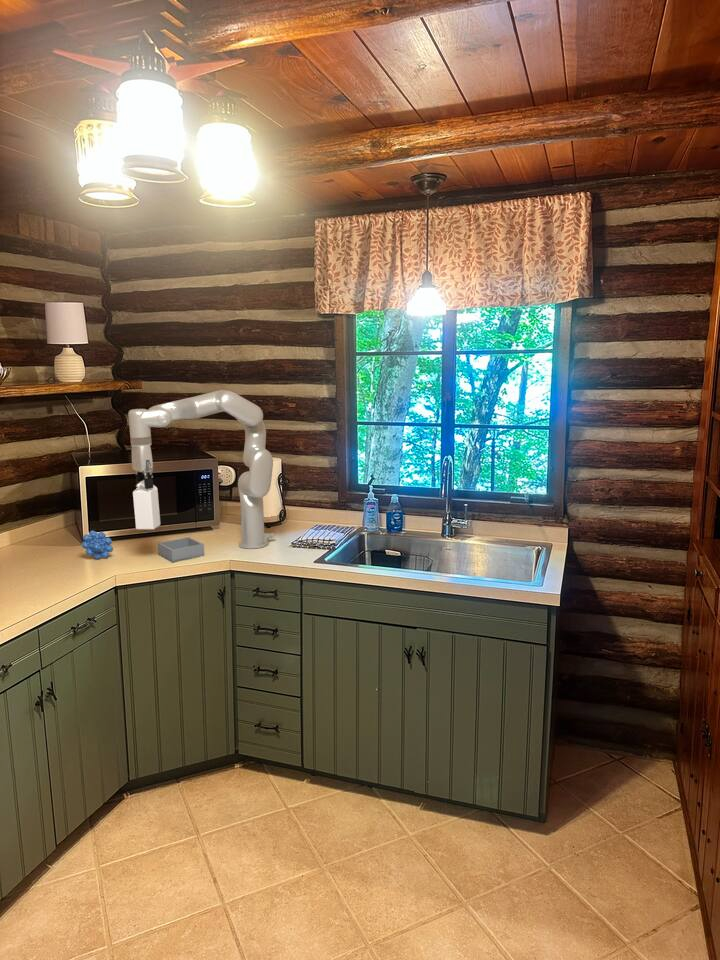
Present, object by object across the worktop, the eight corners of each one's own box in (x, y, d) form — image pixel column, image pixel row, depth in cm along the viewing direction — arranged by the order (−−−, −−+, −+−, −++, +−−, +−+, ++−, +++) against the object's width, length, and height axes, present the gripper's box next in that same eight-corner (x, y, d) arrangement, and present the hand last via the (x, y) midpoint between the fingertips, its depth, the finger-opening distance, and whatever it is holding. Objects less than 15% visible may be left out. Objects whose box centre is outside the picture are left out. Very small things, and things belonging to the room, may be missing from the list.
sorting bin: (189, 548, 290) (188, 537, 289) (204, 555, 279) (203, 544, 278) (158, 554, 281) (157, 543, 280) (172, 562, 271) (171, 550, 270)
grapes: (82, 563, 270) (79, 534, 268) (83, 559, 277) (80, 530, 274) (113, 560, 274) (111, 531, 272) (114, 556, 280) (111, 527, 278)
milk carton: (160, 525, 274) (156, 478, 270) (153, 529, 267) (149, 481, 263) (143, 524, 274) (139, 478, 271) (136, 529, 268) (131, 481, 264)
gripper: (123, 440, 268) (127, 484, 272) (140, 444, 255) (144, 491, 258) (141, 438, 273) (145, 481, 276) (159, 442, 259) (163, 488, 263)
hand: (144, 486), depth 267 cm, fingers closed on milk carton, 7 cm apart
